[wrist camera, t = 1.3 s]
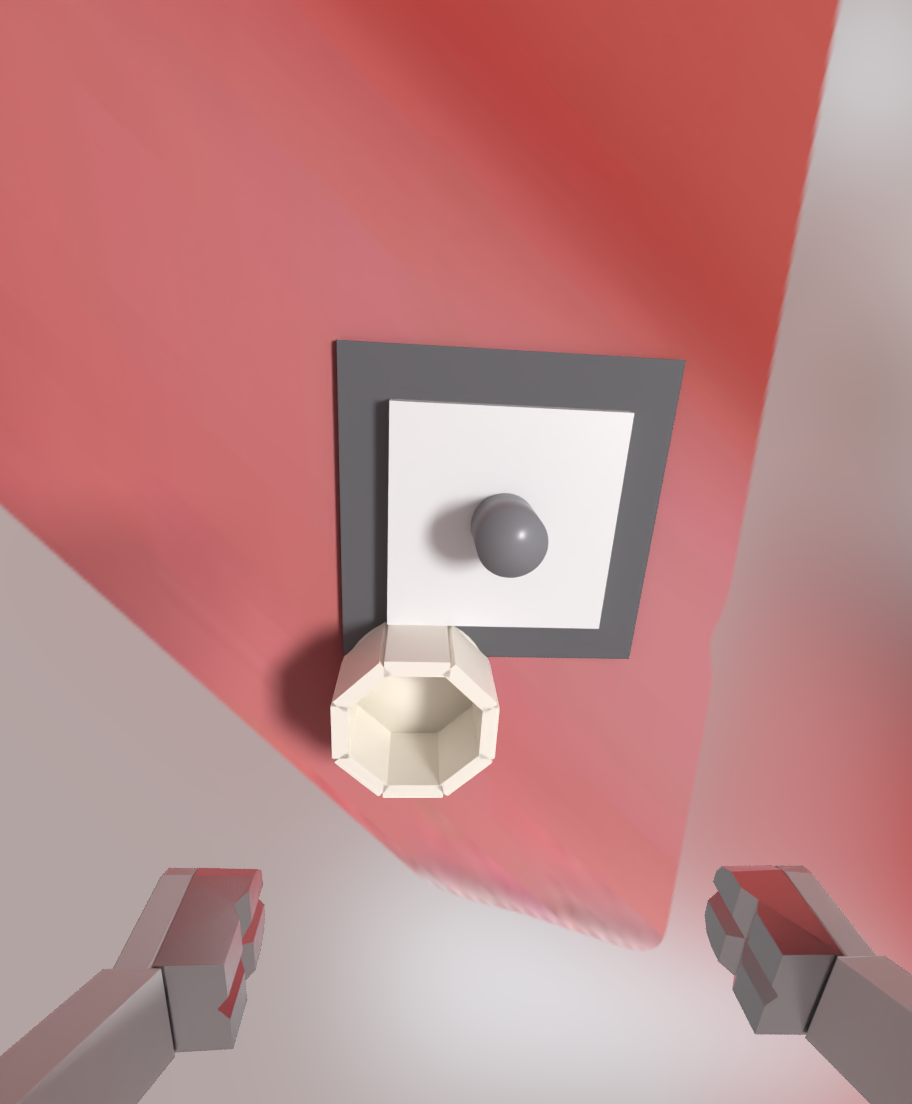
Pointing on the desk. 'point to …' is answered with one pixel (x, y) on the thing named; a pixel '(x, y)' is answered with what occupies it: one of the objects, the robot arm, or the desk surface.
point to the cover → (502, 513)
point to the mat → (508, 380)
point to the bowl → (414, 711)
